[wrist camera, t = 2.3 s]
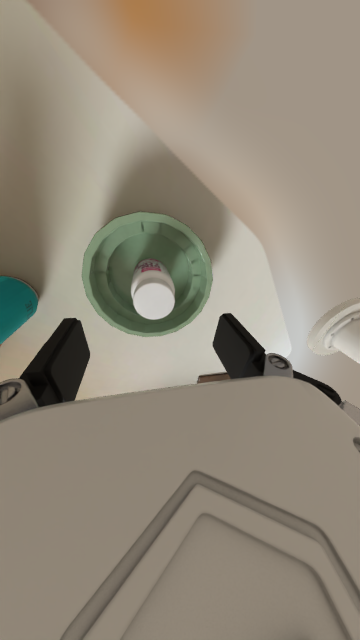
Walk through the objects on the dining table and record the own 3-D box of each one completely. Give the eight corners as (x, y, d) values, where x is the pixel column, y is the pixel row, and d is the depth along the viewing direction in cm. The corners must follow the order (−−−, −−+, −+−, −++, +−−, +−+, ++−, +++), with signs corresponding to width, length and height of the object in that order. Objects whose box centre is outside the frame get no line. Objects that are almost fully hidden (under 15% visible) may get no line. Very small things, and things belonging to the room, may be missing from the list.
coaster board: (236, 372, 40) (237, 373, 39) (226, 395, 45) (227, 396, 45) (198, 376, 37) (199, 377, 37) (193, 400, 43) (193, 401, 42)
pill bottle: (155, 250, 20) (162, 267, 13) (174, 280, 23) (187, 307, 16) (125, 270, 21) (117, 296, 14) (146, 297, 24) (149, 330, 17)
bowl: (207, 220, 20) (224, 220, 16) (192, 316, 28) (201, 334, 24) (82, 205, 17) (63, 202, 13) (104, 319, 25) (96, 339, 20)
